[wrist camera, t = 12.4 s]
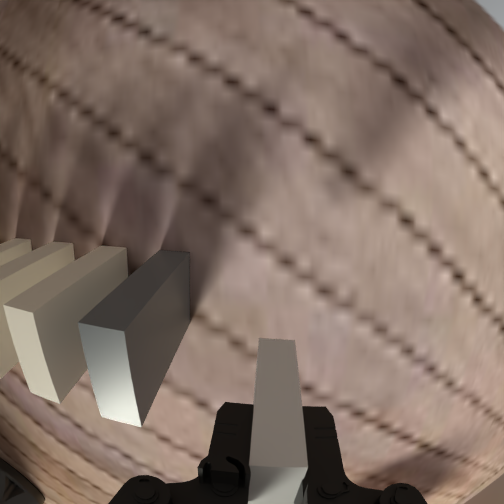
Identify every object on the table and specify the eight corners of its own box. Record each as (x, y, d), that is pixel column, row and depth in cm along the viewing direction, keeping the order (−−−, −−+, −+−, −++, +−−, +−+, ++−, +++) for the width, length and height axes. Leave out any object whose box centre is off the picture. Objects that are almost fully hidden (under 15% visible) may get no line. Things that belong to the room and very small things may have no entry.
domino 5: (107, 311, 21) (31, 392, 12) (101, 245, 20) (3, 304, 10) (131, 314, 21) (60, 403, 12) (126, 247, 20) (32, 312, 10)
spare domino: (162, 319, 21) (101, 416, 12) (159, 250, 20) (77, 322, 10) (189, 322, 21) (141, 427, 12) (189, 252, 20) (123, 331, 10)
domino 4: (61, 302, 22) (-20, 369, 12) (53, 241, 20) (-45, 289, 11) (80, 306, 21) (0, 379, 12) (73, 243, 20) (-27, 295, 10)
